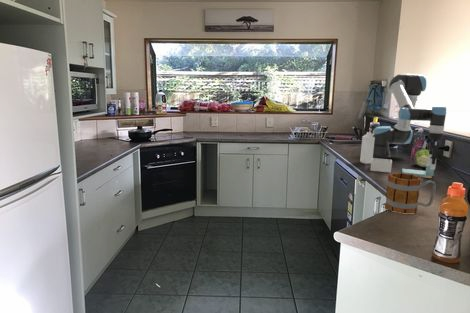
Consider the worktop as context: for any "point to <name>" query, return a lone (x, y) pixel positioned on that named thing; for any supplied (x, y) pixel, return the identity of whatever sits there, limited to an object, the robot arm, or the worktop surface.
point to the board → (426, 176)
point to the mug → (405, 192)
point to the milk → (367, 148)
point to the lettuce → (421, 157)
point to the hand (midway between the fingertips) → (431, 167)
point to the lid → (419, 172)
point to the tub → (381, 165)
